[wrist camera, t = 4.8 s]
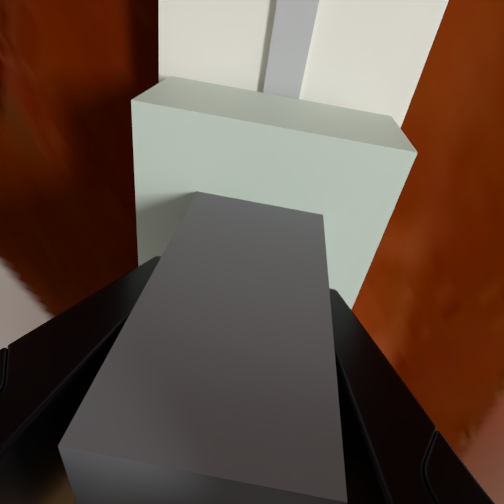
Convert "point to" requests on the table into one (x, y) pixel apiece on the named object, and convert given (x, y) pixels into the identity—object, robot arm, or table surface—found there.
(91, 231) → the table surface
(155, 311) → the carriage
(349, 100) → the rail
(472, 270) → the table surface
